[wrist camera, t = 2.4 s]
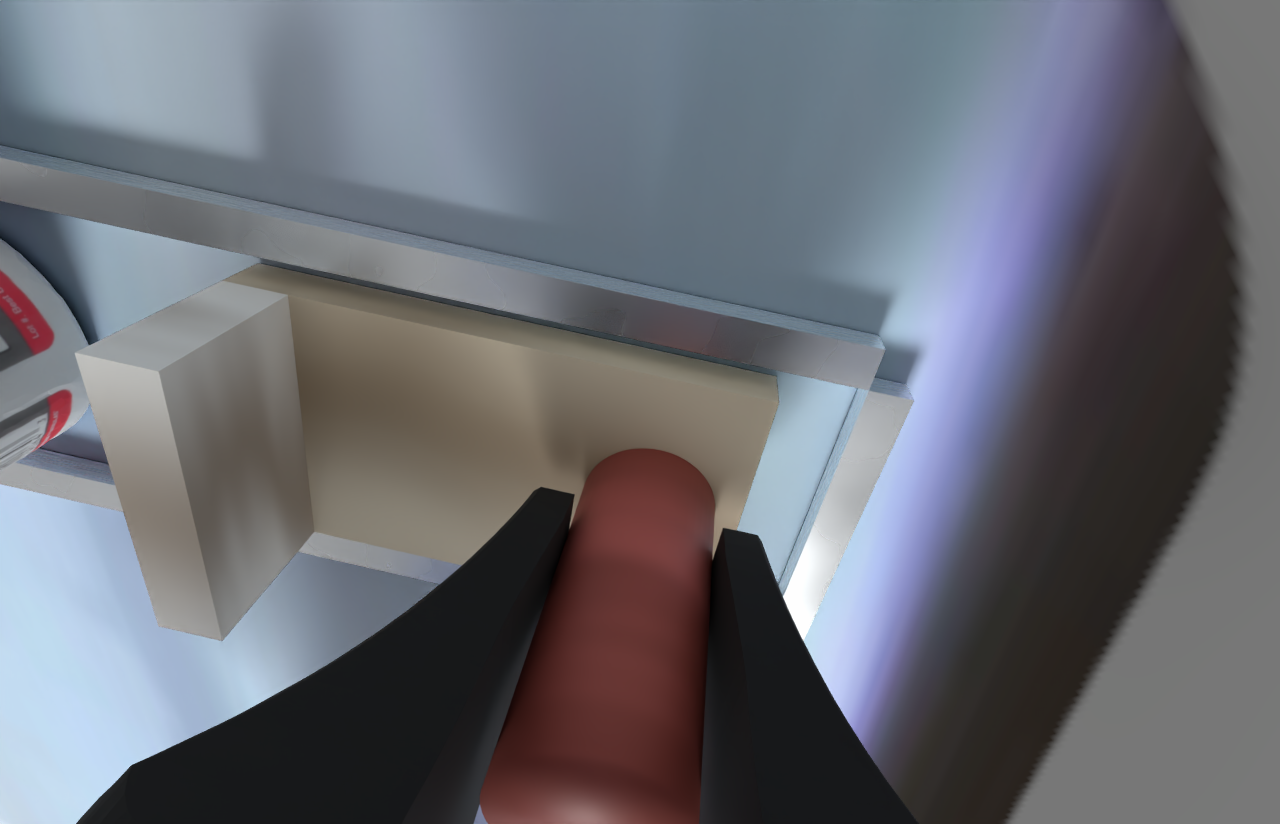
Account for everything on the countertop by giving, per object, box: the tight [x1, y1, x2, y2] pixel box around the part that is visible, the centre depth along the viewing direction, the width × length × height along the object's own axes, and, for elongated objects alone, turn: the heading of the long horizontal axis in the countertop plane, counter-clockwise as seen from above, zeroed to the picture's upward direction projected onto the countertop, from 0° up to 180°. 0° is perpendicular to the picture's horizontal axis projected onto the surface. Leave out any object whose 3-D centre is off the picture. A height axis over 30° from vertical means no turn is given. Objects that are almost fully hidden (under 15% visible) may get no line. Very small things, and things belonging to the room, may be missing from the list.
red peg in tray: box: [75, 263, 779, 824], centre depth 11 cm, size 6×10×7 cm, turn 81°
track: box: [0, 145, 914, 641], centre depth 14 cm, size 8×22×1 cm, turn 81°
